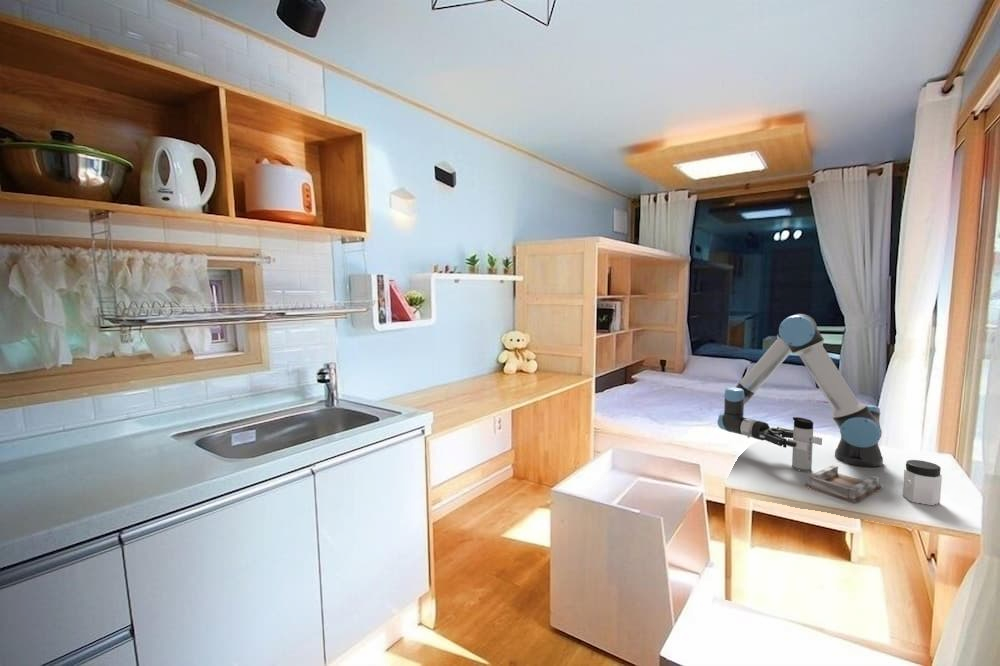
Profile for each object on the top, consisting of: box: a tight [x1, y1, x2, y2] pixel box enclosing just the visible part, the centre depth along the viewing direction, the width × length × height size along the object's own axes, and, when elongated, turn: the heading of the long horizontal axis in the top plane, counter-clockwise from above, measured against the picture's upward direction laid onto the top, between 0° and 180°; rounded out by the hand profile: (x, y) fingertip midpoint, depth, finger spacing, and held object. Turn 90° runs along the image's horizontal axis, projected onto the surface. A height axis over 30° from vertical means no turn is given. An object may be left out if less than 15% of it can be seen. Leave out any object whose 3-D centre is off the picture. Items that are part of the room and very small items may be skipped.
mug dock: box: [804, 464, 883, 504], centre depth 156 cm, size 20×15×4 cm
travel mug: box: [791, 416, 814, 472], centre depth 172 cm, size 6×7×20 cm
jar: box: [902, 459, 943, 506], centre depth 146 cm, size 9×8×12 cm
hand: (814, 444), depth 168 cm, fingers open, 10 cm apart
